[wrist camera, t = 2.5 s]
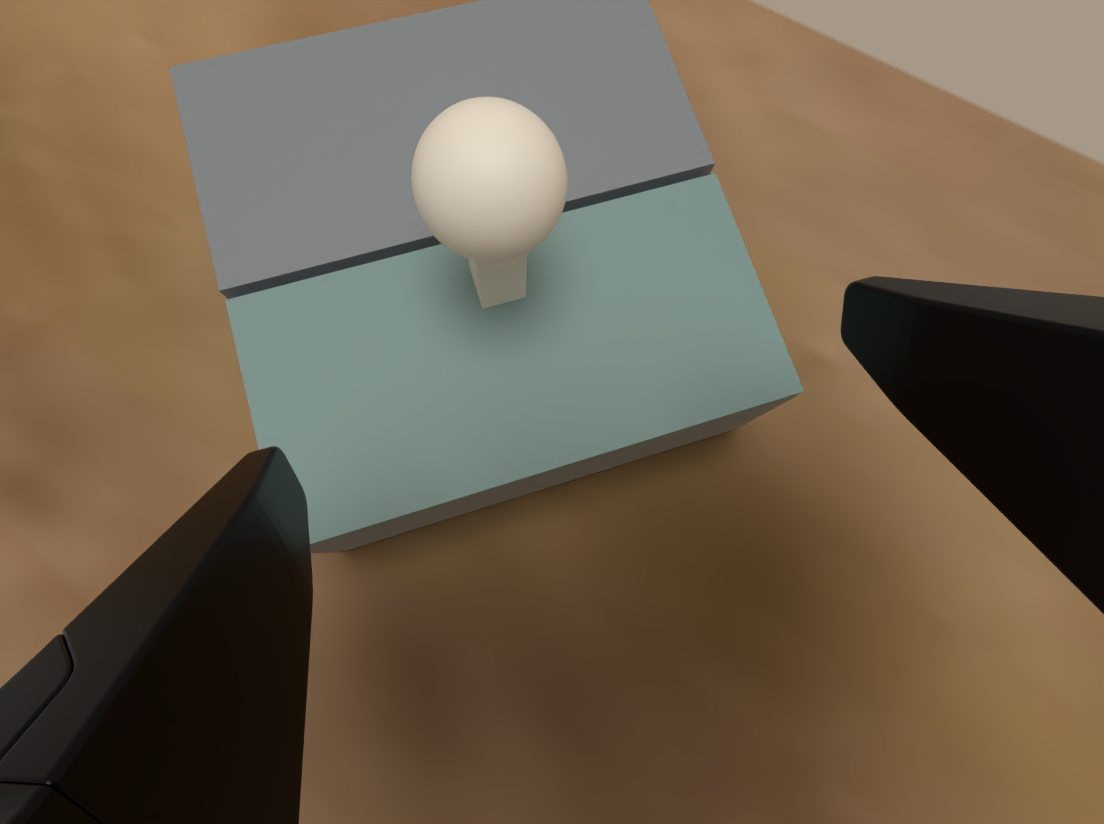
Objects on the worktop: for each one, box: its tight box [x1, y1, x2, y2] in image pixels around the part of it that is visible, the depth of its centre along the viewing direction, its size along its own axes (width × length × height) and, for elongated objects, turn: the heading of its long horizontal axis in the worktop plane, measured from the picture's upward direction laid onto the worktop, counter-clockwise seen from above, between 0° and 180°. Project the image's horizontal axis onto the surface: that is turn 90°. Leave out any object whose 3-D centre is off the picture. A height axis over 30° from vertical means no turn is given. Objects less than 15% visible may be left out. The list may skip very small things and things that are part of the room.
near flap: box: [225, 97, 804, 546], centre depth 13 cm, size 7×14×7 cm, turn 107°
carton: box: [169, 0, 796, 553], centre depth 20 cm, size 14×14×6 cm
